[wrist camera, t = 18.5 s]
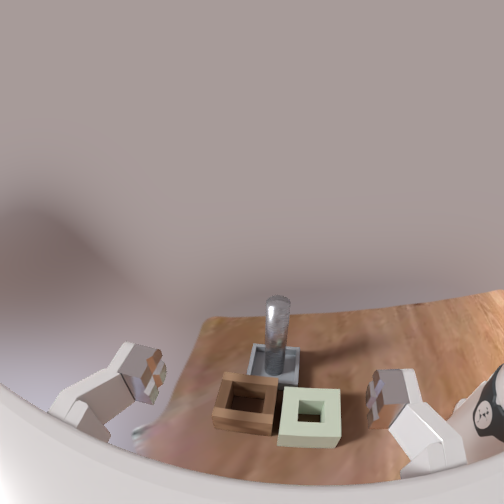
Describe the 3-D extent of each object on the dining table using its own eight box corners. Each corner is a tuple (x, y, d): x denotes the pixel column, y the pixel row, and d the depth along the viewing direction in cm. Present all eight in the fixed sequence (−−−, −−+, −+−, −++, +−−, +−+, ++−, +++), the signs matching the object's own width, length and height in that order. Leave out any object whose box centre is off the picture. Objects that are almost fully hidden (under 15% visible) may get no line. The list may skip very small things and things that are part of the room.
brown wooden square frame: (277, 392, 41) (278, 377, 39) (271, 436, 34) (272, 423, 32) (226, 386, 42) (224, 371, 40) (214, 428, 35) (211, 415, 33)
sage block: (334, 403, 39) (339, 389, 37) (334, 448, 32) (341, 436, 30) (282, 400, 40) (284, 386, 38) (276, 445, 33) (278, 434, 31)
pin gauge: (284, 362, 46) (291, 296, 40) (282, 376, 43) (289, 311, 37) (265, 360, 47) (267, 294, 40) (263, 374, 44) (265, 309, 37)
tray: (298, 355, 48) (300, 347, 47) (296, 391, 41) (297, 384, 40) (253, 351, 49) (253, 343, 48) (245, 386, 42) (245, 379, 41)
